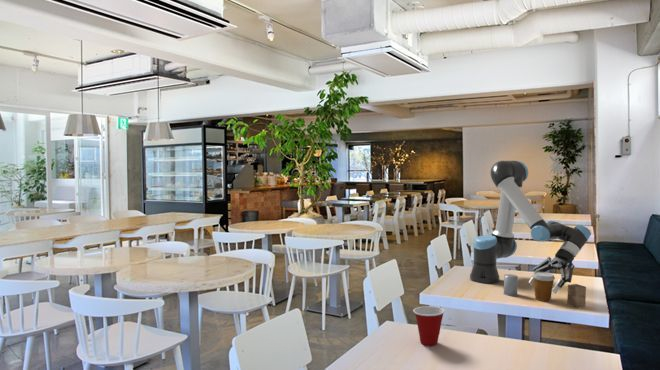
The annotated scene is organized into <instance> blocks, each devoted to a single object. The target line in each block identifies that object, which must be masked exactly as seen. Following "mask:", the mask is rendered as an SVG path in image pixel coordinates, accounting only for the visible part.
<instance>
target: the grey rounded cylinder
mask: <svg viewBox="0 0 660 370" xmlns="http://www.w3.org/2000/svg"><path fill="white" fill-rule="evenodd" d="M503 295H505V296H509V297H516V296H518V275H517V274H511V273H509V274H507V273H506V274H504V276H503Z"/></svg>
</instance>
